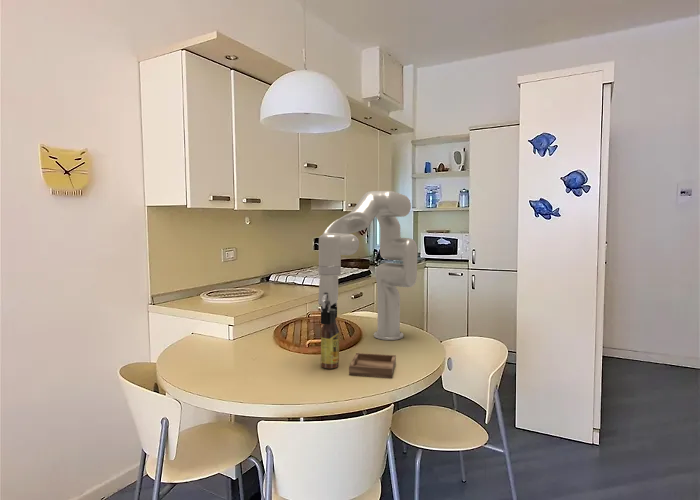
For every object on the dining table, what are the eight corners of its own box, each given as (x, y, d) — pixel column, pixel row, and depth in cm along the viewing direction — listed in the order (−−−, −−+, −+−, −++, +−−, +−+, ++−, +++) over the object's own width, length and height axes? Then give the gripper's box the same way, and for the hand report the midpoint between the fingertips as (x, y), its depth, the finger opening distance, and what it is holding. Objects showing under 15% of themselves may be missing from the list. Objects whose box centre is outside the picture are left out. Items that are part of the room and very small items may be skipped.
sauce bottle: (336, 370, 149) (336, 312, 147) (318, 368, 150) (318, 311, 148) (341, 363, 155) (341, 308, 154) (323, 362, 156) (323, 307, 155)
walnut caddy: (356, 361, 158) (356, 352, 158) (395, 363, 155) (395, 355, 155) (349, 375, 144) (349, 366, 144) (391, 378, 142) (392, 369, 141)
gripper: (325, 267, 159) (324, 315, 160) (312, 273, 142) (311, 325, 143) (345, 268, 158) (344, 316, 159) (334, 274, 141) (334, 327, 142)
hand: (329, 320), depth 151 cm, fingers open, 9 cm apart
